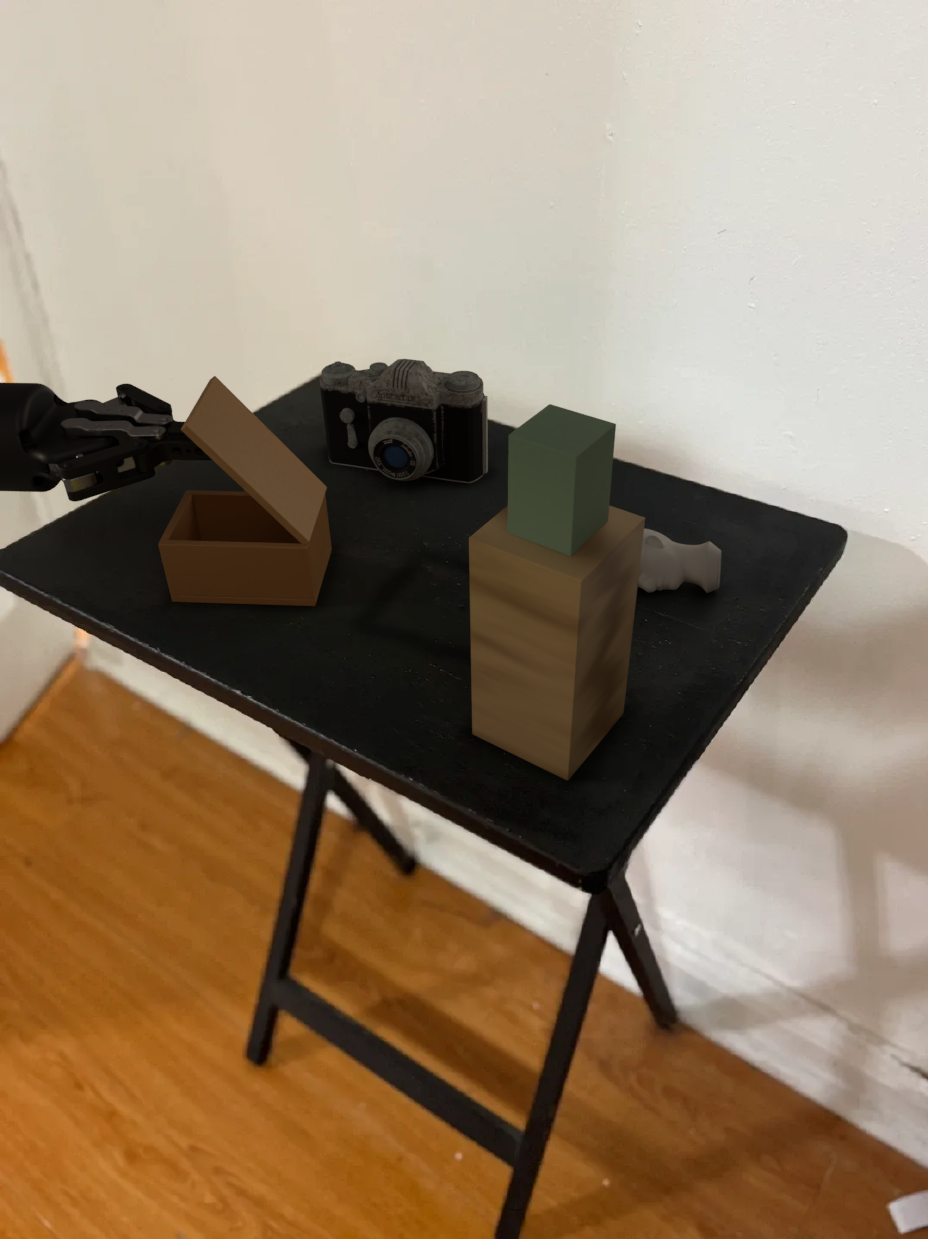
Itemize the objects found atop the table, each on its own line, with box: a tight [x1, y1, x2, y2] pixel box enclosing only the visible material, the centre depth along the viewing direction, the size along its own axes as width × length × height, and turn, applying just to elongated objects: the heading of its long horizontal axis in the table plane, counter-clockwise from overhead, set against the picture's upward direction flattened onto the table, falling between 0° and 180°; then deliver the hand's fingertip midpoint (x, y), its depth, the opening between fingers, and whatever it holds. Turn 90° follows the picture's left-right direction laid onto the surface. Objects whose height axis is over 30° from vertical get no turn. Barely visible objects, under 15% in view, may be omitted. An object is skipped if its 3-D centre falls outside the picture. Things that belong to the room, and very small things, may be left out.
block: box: [507, 403, 617, 556], centre depth 54 cm, size 4×4×6 cm
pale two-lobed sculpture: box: [637, 528, 722, 594], centre depth 75 cm, size 4×8×5 cm
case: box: [157, 489, 333, 607], centre depth 77 cm, size 11×7×5 cm
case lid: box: [181, 375, 328, 545], centre depth 72 cm, size 11×7×1 cm
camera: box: [319, 358, 489, 484], centre depth 86 cm, size 15×7×10 cm, turn 73°
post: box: [468, 505, 646, 782], centre depth 61 cm, size 7×7×15 cm
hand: (225, 441), depth 71 cm, fingers closed
